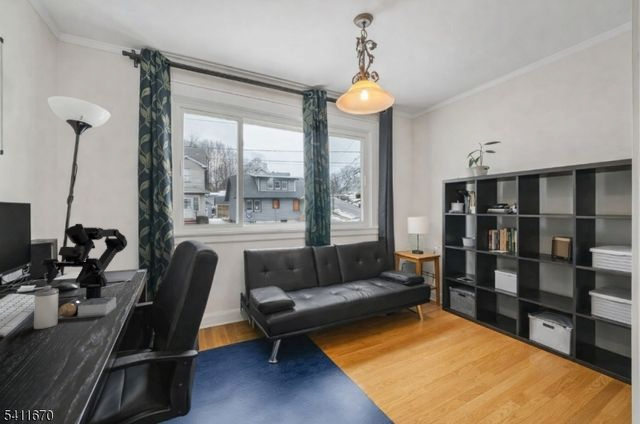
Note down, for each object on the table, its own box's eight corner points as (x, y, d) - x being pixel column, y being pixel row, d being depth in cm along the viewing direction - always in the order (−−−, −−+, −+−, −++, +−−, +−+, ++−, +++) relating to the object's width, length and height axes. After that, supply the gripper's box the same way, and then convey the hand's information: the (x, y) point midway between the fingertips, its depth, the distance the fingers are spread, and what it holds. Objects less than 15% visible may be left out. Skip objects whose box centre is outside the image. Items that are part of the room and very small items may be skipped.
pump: (41, 322, 99) (42, 284, 99) (61, 321, 101) (62, 283, 101) (29, 329, 93) (30, 289, 93) (50, 327, 95) (52, 288, 95)
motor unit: (71, 310, 111) (72, 296, 111) (116, 307, 116) (116, 294, 116) (56, 319, 102) (57, 304, 102) (105, 315, 107) (106, 301, 107)
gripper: (45, 238, 108) (20, 272, 97) (99, 238, 112) (81, 270, 101) (58, 255, 115) (37, 288, 104) (108, 254, 120) (93, 286, 109)
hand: (62, 283), depth 104 cm, fingers open, 9 cm apart
